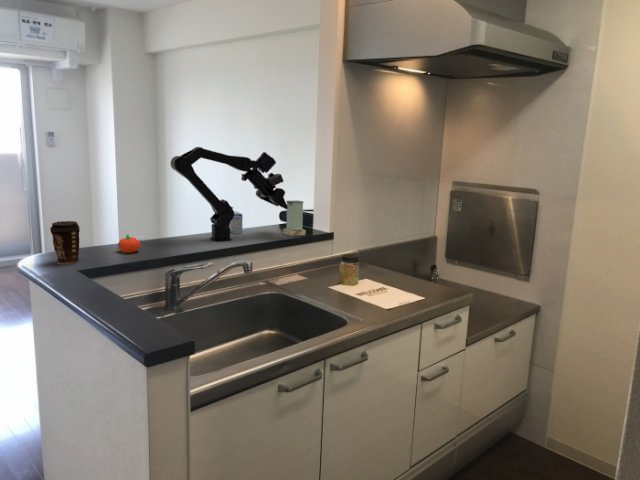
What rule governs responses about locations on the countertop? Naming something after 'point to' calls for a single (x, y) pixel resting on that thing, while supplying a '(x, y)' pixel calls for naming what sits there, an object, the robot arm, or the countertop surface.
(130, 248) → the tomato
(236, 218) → the medicine box
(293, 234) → the oak block
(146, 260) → the countertop surface
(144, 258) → the countertop surface
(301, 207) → the tea tin
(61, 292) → the countertop surface
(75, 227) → the coffee cup
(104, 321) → the countertop surface
